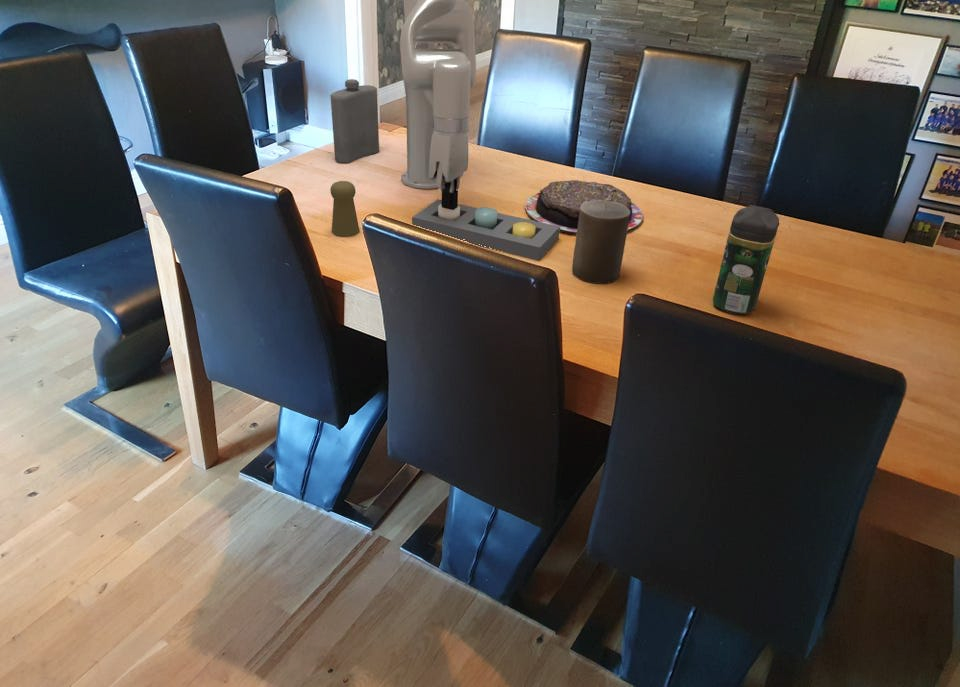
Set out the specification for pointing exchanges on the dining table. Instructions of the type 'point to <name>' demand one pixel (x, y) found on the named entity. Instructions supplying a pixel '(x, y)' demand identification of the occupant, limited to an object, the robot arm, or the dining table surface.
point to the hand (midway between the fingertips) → (449, 207)
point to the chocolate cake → (575, 203)
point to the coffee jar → (745, 259)
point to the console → (490, 231)
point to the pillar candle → (600, 241)
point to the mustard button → (524, 229)
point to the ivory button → (449, 213)
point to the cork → (344, 210)
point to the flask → (355, 122)
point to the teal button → (486, 217)
